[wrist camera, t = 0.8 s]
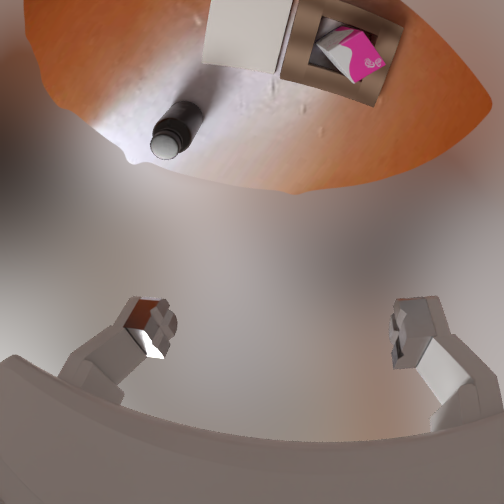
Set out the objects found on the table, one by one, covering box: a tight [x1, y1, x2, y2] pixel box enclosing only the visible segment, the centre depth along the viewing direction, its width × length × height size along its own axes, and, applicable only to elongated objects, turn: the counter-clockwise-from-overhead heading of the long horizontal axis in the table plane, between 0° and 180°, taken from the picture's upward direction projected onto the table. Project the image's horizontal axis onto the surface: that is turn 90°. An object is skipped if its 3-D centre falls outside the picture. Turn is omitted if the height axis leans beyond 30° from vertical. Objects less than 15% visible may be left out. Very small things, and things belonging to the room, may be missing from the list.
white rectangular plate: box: [201, 0, 293, 74], centre depth 32 cm, size 14×12×1 cm
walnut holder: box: [280, 0, 404, 107], centre depth 32 cm, size 16×16×3 cm
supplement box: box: [315, 26, 386, 84], centre depth 29 cm, size 6×6×12 cm
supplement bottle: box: [150, 101, 203, 160], centre depth 41 cm, size 7×7×12 cm
